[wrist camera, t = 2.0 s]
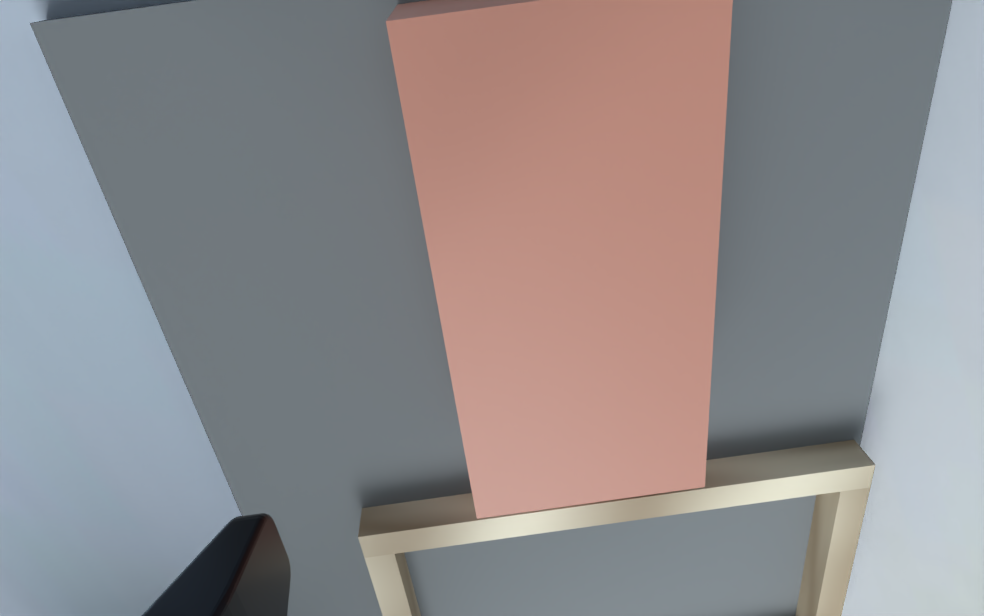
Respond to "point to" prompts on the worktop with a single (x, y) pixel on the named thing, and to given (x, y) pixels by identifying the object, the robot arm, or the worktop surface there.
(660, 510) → the slot frame
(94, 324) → the worktop surface
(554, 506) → the card deck
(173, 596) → the robot arm
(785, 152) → the mat
